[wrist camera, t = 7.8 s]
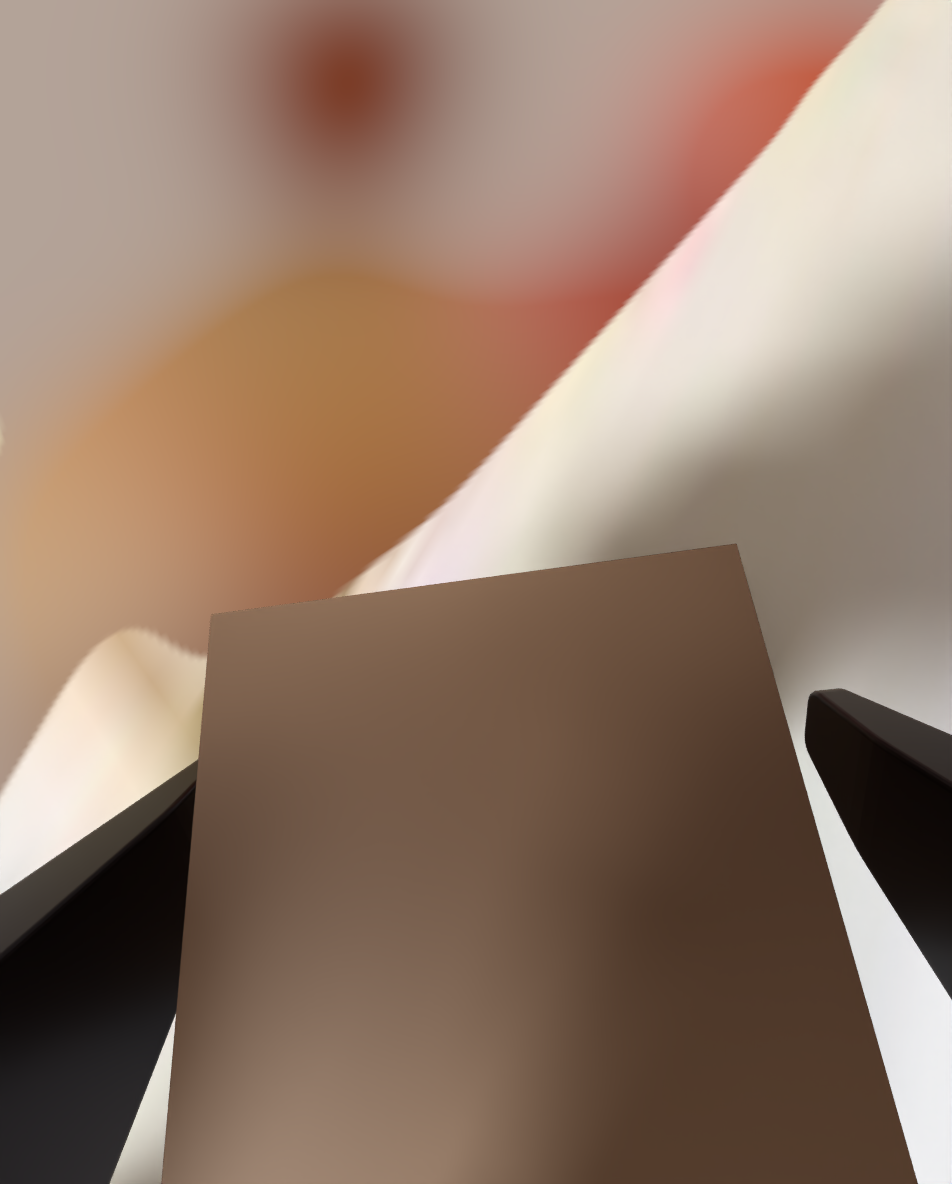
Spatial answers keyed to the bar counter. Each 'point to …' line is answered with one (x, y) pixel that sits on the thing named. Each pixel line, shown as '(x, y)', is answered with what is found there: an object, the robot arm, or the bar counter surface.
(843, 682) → the bar counter surface
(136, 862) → the robot arm
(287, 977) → the tapered wooden block
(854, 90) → the bar counter surface
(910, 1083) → the bar counter surface
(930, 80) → the bar counter surface
